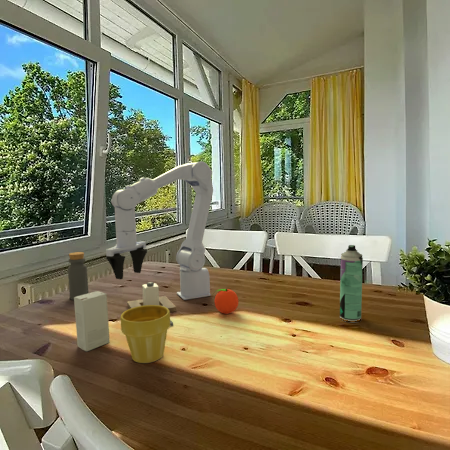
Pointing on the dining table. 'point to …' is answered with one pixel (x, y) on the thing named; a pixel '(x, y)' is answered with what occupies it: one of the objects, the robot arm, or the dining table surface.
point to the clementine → (226, 301)
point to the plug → (150, 294)
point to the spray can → (351, 284)
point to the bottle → (77, 275)
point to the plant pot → (146, 331)
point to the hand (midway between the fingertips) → (128, 275)
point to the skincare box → (91, 320)
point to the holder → (162, 302)
